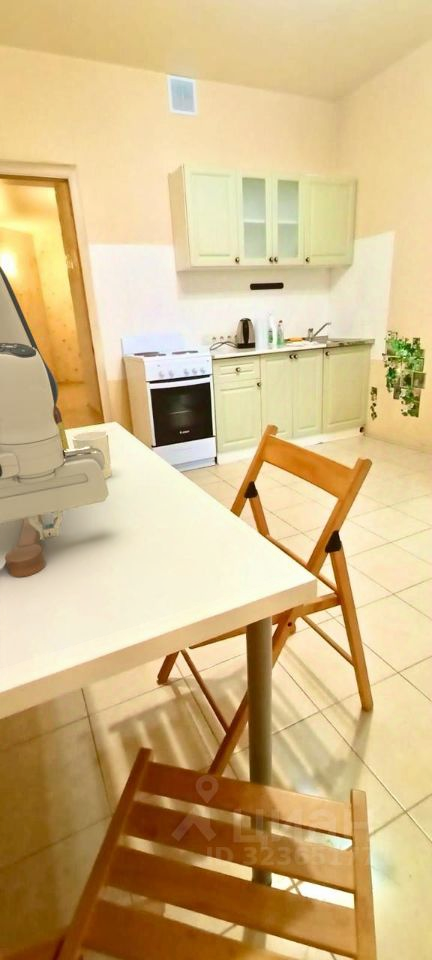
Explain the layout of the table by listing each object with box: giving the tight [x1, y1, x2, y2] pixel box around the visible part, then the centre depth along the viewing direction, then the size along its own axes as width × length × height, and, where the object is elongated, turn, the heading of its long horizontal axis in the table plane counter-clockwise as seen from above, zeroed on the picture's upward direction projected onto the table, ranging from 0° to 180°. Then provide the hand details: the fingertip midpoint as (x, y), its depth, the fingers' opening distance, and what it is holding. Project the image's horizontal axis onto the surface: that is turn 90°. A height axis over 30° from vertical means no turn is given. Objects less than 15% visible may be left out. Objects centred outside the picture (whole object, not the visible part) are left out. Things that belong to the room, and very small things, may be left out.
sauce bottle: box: [53, 405, 70, 459], centre depth 115 cm, size 7×6×20 cm
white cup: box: [71, 430, 112, 480], centre depth 103 cm, size 8×8×10 cm
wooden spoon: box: [4, 515, 46, 578], centre depth 73 cm, size 19×5×3 cm, turn 17°
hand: (50, 536), depth 72 cm, fingers closed
